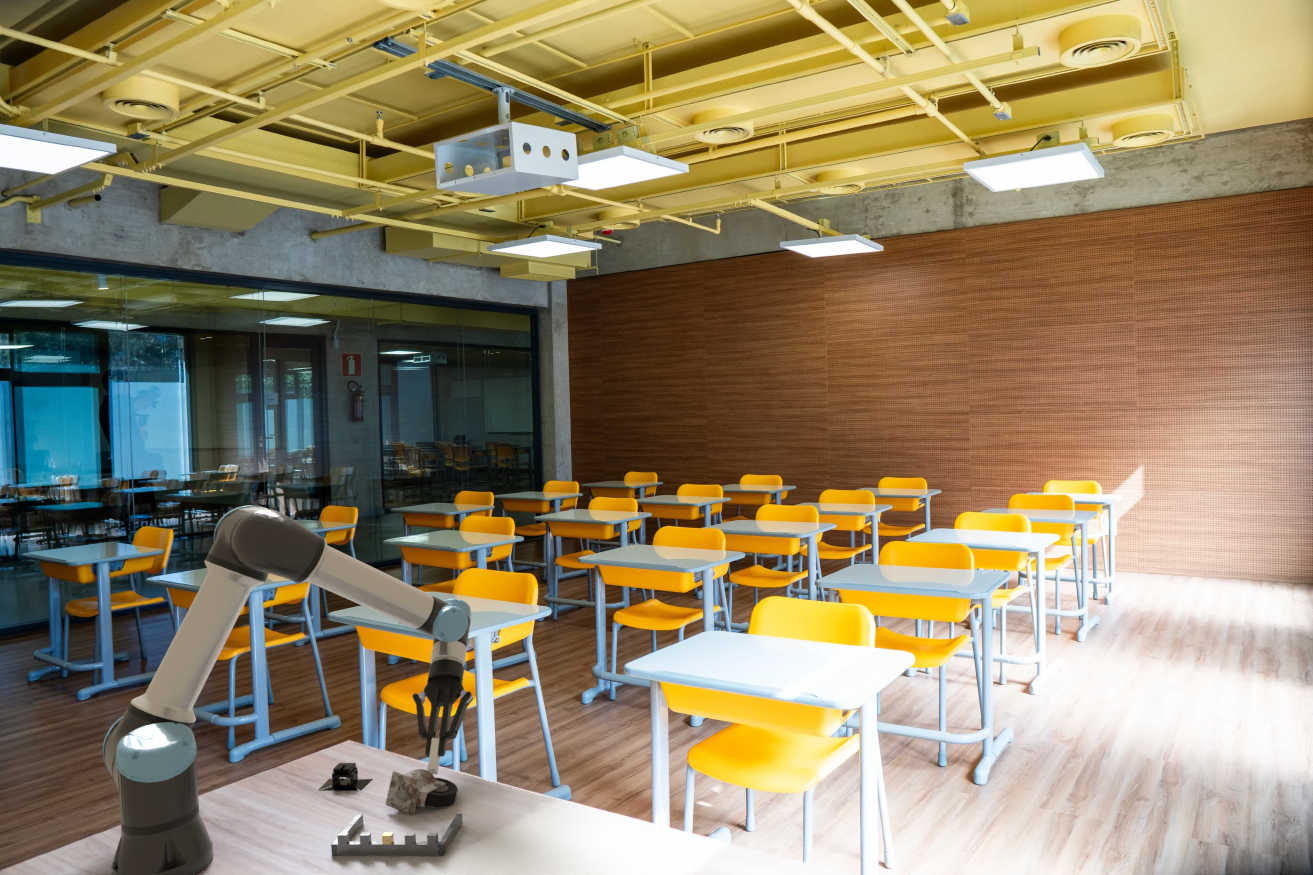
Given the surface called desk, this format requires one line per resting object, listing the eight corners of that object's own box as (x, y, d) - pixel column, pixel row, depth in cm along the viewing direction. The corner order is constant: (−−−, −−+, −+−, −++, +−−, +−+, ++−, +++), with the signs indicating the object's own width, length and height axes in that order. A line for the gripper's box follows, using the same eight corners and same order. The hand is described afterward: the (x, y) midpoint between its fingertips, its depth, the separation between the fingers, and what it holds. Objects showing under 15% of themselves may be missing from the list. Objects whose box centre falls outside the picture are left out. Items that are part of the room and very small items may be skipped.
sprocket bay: (331, 855, 148) (330, 835, 148) (358, 823, 159) (357, 805, 159) (443, 855, 147) (442, 835, 146) (462, 823, 158) (461, 804, 157)
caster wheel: (460, 809, 169) (431, 826, 159) (414, 790, 173) (383, 805, 163) (468, 776, 169) (439, 790, 160) (421, 758, 173) (391, 771, 163)
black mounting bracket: (308, 794, 173) (307, 773, 173) (325, 778, 180) (324, 757, 180) (367, 795, 172) (366, 773, 172) (381, 779, 179) (380, 757, 179)
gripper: (479, 672, 191) (467, 777, 176) (421, 674, 191) (404, 779, 175) (473, 656, 186) (461, 763, 170) (414, 658, 186) (396, 765, 170)
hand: (432, 771), depth 173 cm, fingers closed
